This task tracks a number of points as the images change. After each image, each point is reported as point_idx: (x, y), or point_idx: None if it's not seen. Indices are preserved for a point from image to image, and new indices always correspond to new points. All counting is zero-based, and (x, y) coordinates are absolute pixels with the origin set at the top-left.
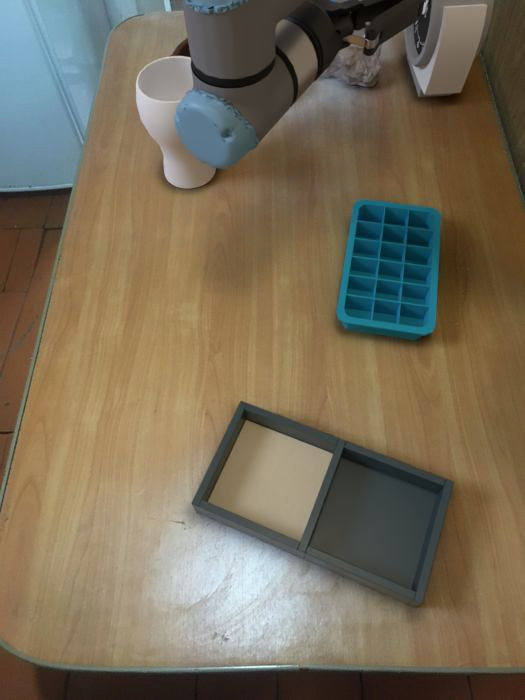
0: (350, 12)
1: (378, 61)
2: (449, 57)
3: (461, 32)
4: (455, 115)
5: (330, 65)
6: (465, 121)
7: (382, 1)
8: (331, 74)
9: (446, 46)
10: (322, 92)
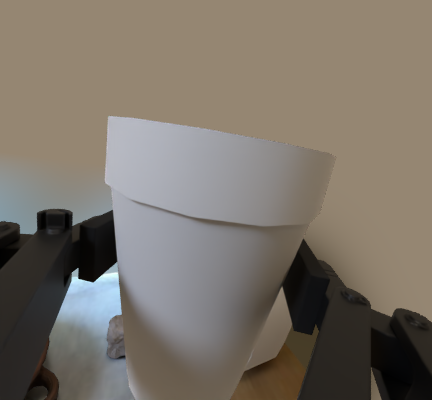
0: (169, 363)
1: None
2: (271, 330)
3: (281, 304)
4: (279, 386)
5: (120, 345)
6: (294, 394)
7: (366, 397)
8: (122, 354)
9: (269, 321)
10: (108, 389)
